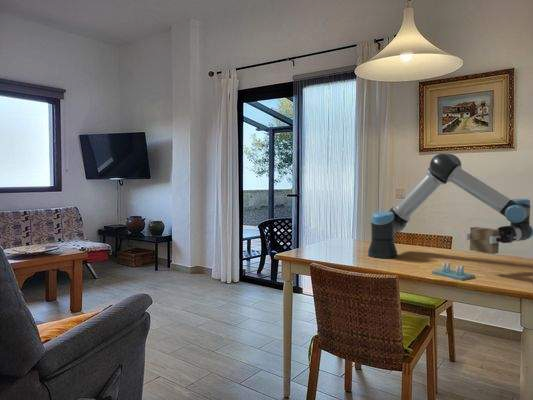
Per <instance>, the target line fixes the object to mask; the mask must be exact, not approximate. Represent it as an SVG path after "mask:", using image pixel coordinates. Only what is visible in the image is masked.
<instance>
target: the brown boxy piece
mask: <svg viewBox="0 0 533 400" xmlns="http://www.w3.org/2000/svg"><path fill="white" fill-rule="evenodd" d="M469 230H470V231H469V233H470V240H469V251H473V252H479V253H482V254H483V253H484V254H490V255H496V254H499V250H500V249H499V245H500V242H499V243H493V244H490V237H493V236H499V230H498V228H490V227H489V228H488V227H481V226H473V227H470V229H469Z"/></svg>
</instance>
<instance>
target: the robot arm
mask: <svg viewBox="0 0 533 400" xmlns="http://www.w3.org/2000/svg"><path fill="white" fill-rule="evenodd" d="M447 183H452V184H453V185H455V186H456V187H458V188H460V189H462V190H463V191H464V192H465V193H468V194H470V195H471V196H473V197H474V198H475V199H478V201H480V202H482V203H483V204H485V205H486V206H488V207H489V208H491V209H493V210H494V211H496V212H498V213H499V214H500V215H501V216H503V217H504V218H506V220H507V221H508V222H510V225H509V224H508V225H504V226H503V225H502V226H499V227H498V228H497V229H498V230H499V236H493V237H490V244H493V243H499V244H500V243H501V244H512V243H513V242H518V241H519V242H520V241H526V240H529V239H531V238H532V237H533V227H532V226H531V224H530V218H531V200H530V199H527V198H513V199H511V198H509V197H508V196H506V195H504V194H502V193H501V192H499V190H496V189H495V188H493V187H491V186H490V185H488V184H487V183H485V182H483V181H482V180H480V179H478V177H477V178H476V176H473V174H470V173H469V172H467V171H465V170H464V169H462V161H461V159H460V158H459V157H458V156H457V155H455V154H453V153H438V154H436V155H434V156H433V157H432V158H431V160H430V162H429V167H428V168H427V174H426V175H425V176H424V177H423V178H422V179H421V180H420V181H419V182H418V183H417V185H415V186H414V188H413V189H412V190H411V191H410V192H409V193H408V194H407V195H406V196H405V197H404V198H403V199H402V201H400V202H399V203H398V205H393V206H392V207H391V208H390V209H389V210H381V211H376V212H373V213H372V214H371V218H370V225H371V226H370V229H371V234H370V235H371V236H370V237H371V239H370V243H369V247H368V250H367V256H368V257H371V258H376V259H377V258H378V259H391V258H393V259H394V258H397V257H398V250H397V248H396V245H395V244H396V243H395V234H396V233H399V232H402V231H403V230H404V229H405V227H406V226H407V224H408V223H409V221H410V220H411V215H412V214H413V213H414V212H415V211H416V210H417V209H418V208H419V207H421V205H423V203H425V201H426V200H428V198H429V197H430V196H431V195H432V194H433V193H434V192H435V191H436V190H437V189H438V188H439V187H440V186H441V185H446V184H447ZM465 241H470V232H469V233H465Z"/></svg>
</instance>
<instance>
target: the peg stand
mask: <svg viewBox="0 0 533 400" xmlns="http://www.w3.org/2000/svg"><path fill="white" fill-rule="evenodd" d="M431 274H433V275H438V276H442V277H446V278H449V279H453V280H458V281H464V280H468V279H473V278H476V275H475V274H473V273H467V272H465V265H459V266H457V265H456V266H455V270H453V269H451V263H450V262H446V263H442V268H440V269H437V270H432V271H431Z"/></svg>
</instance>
